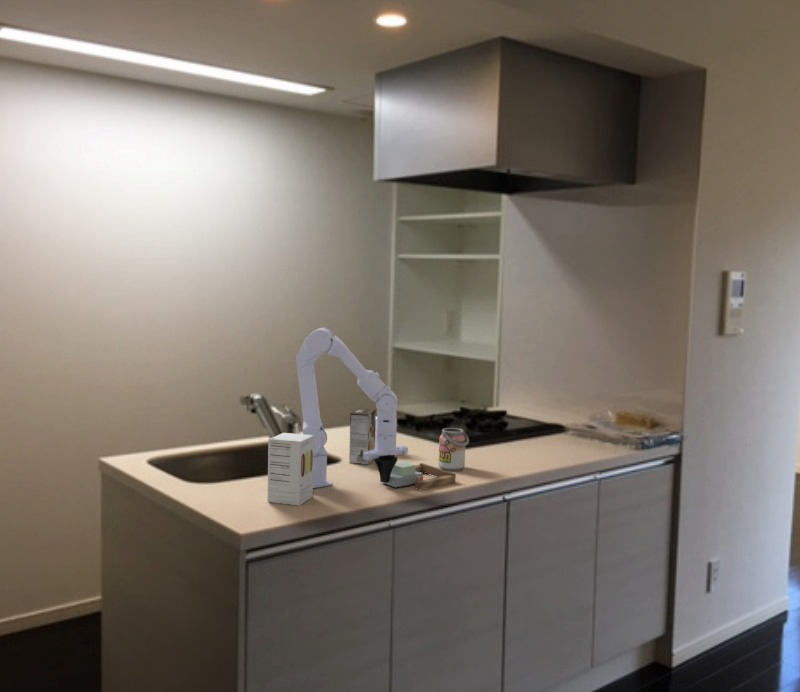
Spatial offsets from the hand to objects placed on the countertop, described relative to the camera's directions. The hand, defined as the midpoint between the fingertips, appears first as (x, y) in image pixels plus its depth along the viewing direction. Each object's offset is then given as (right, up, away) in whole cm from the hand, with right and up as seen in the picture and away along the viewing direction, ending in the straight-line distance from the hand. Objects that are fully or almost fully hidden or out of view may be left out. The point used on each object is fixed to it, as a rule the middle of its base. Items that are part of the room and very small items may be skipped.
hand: (384, 481), depth 225 cm
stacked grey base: (+5, -1, +4) cm, 6 cm away
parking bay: (+10, -1, +8) cm, 13 cm away
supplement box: (-25, -2, -15) cm, 29 cm away
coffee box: (-8, +1, +30) cm, 31 cm away
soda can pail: (+21, 0, +23) cm, 31 cm away
